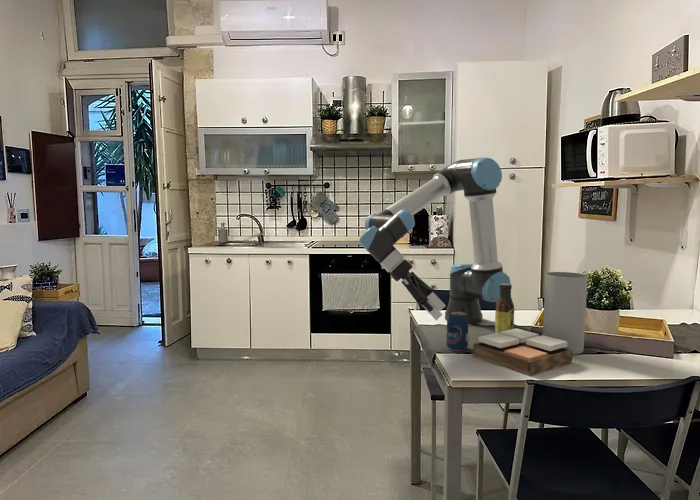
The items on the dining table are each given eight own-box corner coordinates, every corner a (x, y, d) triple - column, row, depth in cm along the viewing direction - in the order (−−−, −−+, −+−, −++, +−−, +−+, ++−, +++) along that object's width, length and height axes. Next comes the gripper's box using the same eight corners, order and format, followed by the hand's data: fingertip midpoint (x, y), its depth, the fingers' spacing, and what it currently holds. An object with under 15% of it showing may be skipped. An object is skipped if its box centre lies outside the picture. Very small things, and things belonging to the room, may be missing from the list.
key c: (542, 339, 157) (542, 335, 157) (567, 346, 150) (567, 341, 150) (525, 344, 152) (525, 339, 152) (550, 351, 145) (550, 346, 145)
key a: (516, 332, 165) (516, 328, 165) (538, 338, 158) (538, 334, 158) (499, 336, 160) (499, 332, 160) (521, 342, 153) (521, 338, 153)
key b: (496, 337, 159) (496, 332, 159) (518, 343, 153) (519, 338, 152) (478, 341, 155) (478, 336, 155) (500, 348, 148) (500, 343, 148)
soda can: (443, 349, 163) (443, 313, 162) (451, 344, 169) (451, 309, 168) (463, 353, 159) (464, 316, 158) (470, 347, 165) (471, 312, 164)
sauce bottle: (514, 343, 170) (516, 286, 168) (495, 342, 172) (497, 285, 170) (512, 338, 177) (514, 283, 175) (493, 337, 178) (495, 282, 176)
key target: (522, 350, 152) (522, 345, 151) (547, 358, 145) (547, 353, 144) (504, 355, 147) (504, 350, 147) (529, 363, 140) (529, 358, 140)
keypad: (514, 346, 167) (515, 334, 167) (571, 362, 150) (572, 350, 150) (472, 356, 156) (473, 344, 155) (529, 376, 139) (530, 362, 138)
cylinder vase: (586, 348, 165) (590, 274, 162) (579, 358, 155) (584, 279, 152) (547, 342, 172) (550, 270, 169) (537, 351, 162) (541, 275, 159)
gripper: (395, 268, 179) (436, 311, 177) (381, 279, 155) (428, 329, 153) (410, 254, 177) (452, 298, 175) (398, 262, 153) (446, 313, 151)
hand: (441, 312), depth 164 cm, fingers open, 13 cm apart
